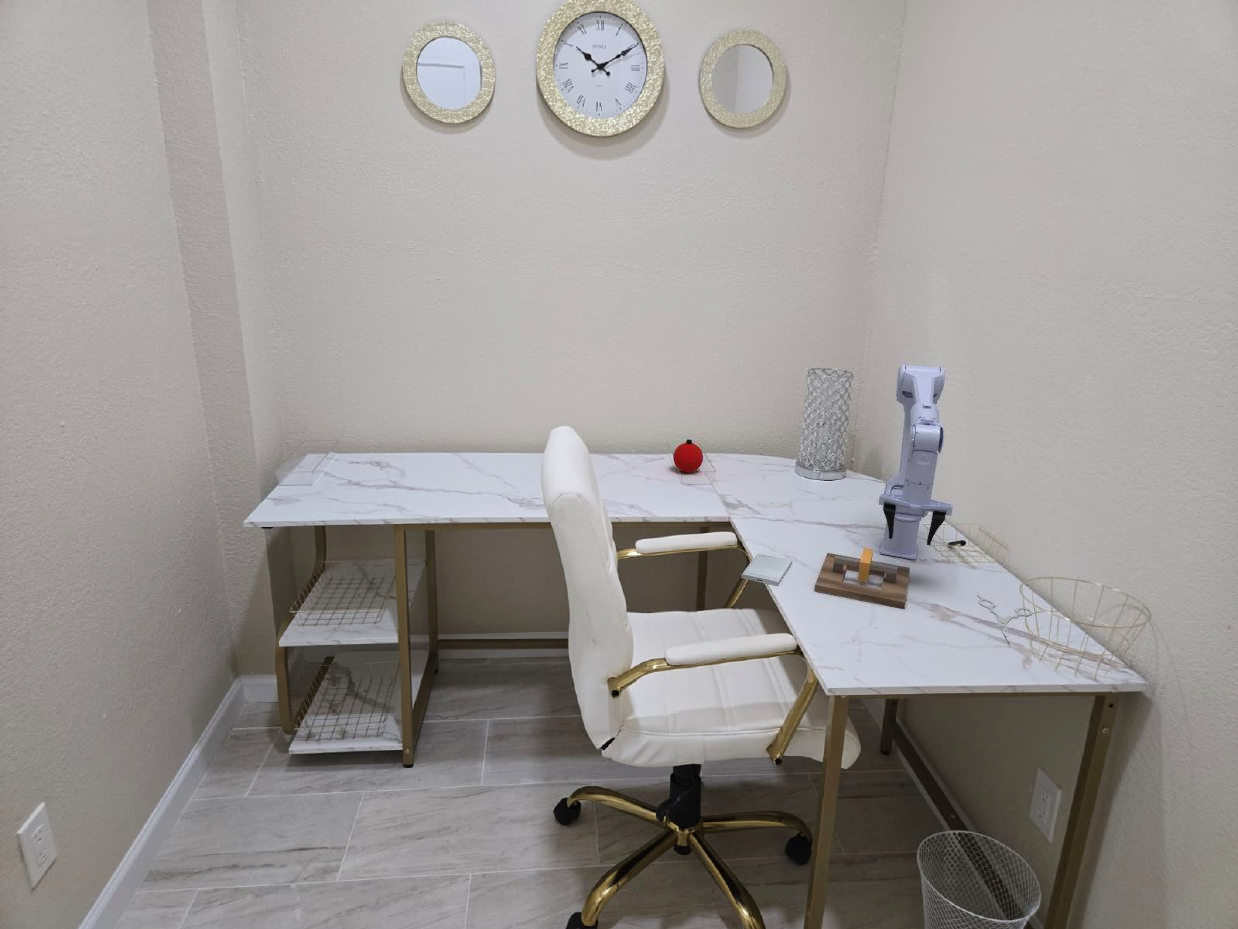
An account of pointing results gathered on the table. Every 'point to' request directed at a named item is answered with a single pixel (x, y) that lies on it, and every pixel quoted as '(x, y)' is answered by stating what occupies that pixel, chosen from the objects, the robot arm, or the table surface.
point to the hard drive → (767, 569)
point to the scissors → (1001, 619)
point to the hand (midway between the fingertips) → (909, 540)
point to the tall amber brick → (865, 565)
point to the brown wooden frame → (884, 596)
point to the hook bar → (890, 570)
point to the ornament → (688, 457)
